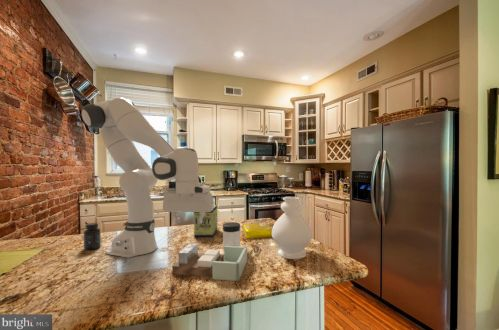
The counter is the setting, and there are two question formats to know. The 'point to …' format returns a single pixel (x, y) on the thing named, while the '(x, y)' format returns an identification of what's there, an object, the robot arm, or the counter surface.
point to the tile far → (213, 253)
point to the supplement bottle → (92, 237)
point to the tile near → (206, 261)
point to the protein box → (206, 224)
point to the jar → (231, 234)
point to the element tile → (257, 230)
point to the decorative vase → (291, 230)
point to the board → (194, 267)
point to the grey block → (188, 254)
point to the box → (230, 264)
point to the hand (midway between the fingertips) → (188, 223)
